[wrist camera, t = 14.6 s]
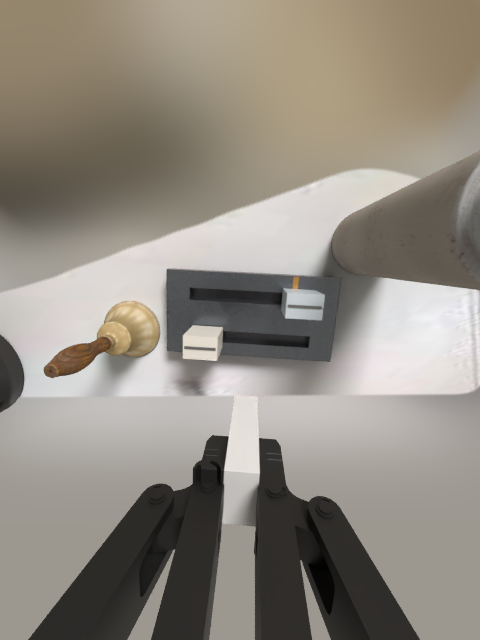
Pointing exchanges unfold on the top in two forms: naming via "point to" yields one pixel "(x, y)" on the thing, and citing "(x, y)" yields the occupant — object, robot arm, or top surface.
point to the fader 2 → (302, 304)
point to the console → (250, 312)
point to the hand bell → (111, 339)
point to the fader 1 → (203, 343)
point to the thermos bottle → (419, 231)
